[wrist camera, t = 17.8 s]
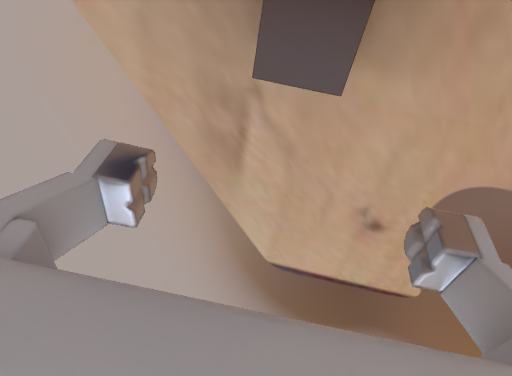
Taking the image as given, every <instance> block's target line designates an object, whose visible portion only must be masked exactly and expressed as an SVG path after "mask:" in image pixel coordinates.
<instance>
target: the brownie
mask: <svg viewBox="0 0 512 376" xmlns="http://www.w3.org/2000/svg"><path fill="white" fill-rule="evenodd" d="M374 1H375V0H264V1H263V8H262V14H261V21H260V28H259V35H258V42H257V49H256V56H255V62H254V69H253V76H252V77H253V78H255V79H260V80H265V81H270V82H274V83H279V84H284V85H289V86H293V87H298V88H303V89H308V90H312V91H317V92H322V93H327V94H332V95H336V96H341V95H342V92H343V89H344V86H345V84H346V81H347V78H348V75H349V72H350V69H351V67H352V64H353V61H354V58H355V55H356V52H357V50H358V47H359V44H360V41H361V38H362V35H363V33H364V30H365V27H366V24H367V21H368V18H369V16H370V13H371V10H372V7H373V4H374Z"/></svg>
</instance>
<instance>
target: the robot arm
mask: <svg viewBox="0 0 512 376" xmlns="http://www.w3.org/2000/svg"><path fill="white" fill-rule="evenodd" d="M155 162H156V157H155V152H154V151H153V150H151V149H146V148H142V147H138V146H133V145H129V144H124V143H119V142H115V141H111V140H106V139H103V140H100V141H99V142H98V143H97V145H96V146H95V147H94V148H93V149H92V150H91V152H90V153H89V154H88V155H87V157H86V158H85V159H84V160H83V161H82V162H81V164H80V165H79V166H78V167H77V169H76V170H75V171H74V172H73V173H70V172H67V173H64V174H61V175H59V176H57V177H54V178H52V179H49V180H47V181H44V182H42V183H39V184H37V185H34V186H32V187H29V188H27V189H24V190H22V191H19V192H17V193H15V194H12V195H10V196H7V197H5V198H2V199H0V376H512V268H511V267H509V265H508V264H504V263H501V260H500V258H499V256H498V254H497V252H496V249H495V247H494V245H493V243H492V240H491V238H490V236H489V234H488V231H487V229H486V227H485V225H484V223H483V221H482V220H481V219H480V218H479V217H475V216H470V215H465V214H458V213H453V212H448V211H443V210H438V209H433V208H428V207H426V208H425V209H423V210H422V211H421V213H420V214H419V215H418V217H419V221H420V222H418V223H415V224H413V225H411V227H410V228H409V230H408V231H407V233H406V236H405V240H404V250H405V255H406V256H407V257H408V258H409V259H410V261H411V264H410V265H409V267H408V269H409V274H410V279H411V283H412V287H417V288H421V289H425V290H430V291H433V292H438V293H441V294H440V295H441V296H442V298H443V299H444V301H445V302H446V303H447V305H448V306H449V308H450V309H451V310H452V312H453V313H454V314H455V316H456V317H457V318H458V320H459V321H460V323H461V324H462V325H463V327H464V328H465V330H466V331H467V332H468V334H469V335H470V337H471V338H472V339H473V340H474V342H475V343H476V345H477V346H478V347H479V349H480V350H481V352H482V353H483V354H484V355H482V356H480V357H479V358H475V357H470V356H465V355H461V354H456V353H451V352H447V351H442V350H437V349H432V348H428V347H423V346H419V345H413V344H409V343H404V342H400V341H395V340H390V339H385V338H380V337H376V336H371V335H366V334H361V333H356V332H351V331H347V330H342V329H338V328H333V327H328V326H324V325H319V324H313V323H309V322H304V321H300V320H295V319H290V318H286V317H281V316H276V315H271V314H267V313H262V312H257V311H252V310H248V309H243V308H239V307H234V306H229V305H224V304H220V303H215V302H210V301H206V300H201V299H196V298H191V297H187V296H182V295H177V294H172V293H168V292H163V291H158V290H154V289H149V288H144V287H139V286H135V285H130V284H125V283H120V282H116V281H111V280H106V279H102V278H97V277H92V276H87V275H82V274H78V273H73V272H68V271H64V270H59V269H57V267H56V265H55V263H54V261H55V260H56V259H58V258H59V257H61V256H62V255H64V254H65V253H67V252H68V251H70V250H71V249H72V248H74V247H76V246H77V245H79V244H80V243H81V242H83V241H84V240H86V239H87V238H89V237H90V236H92V235H93V234H95V233H96V232H98V231H99V230H101V229H102V228H104V227H105V226H107V224H108V223H110V224H116V225H121V226H126V227H132V228H136V227H137V226H138V224H139V222H140V220H141V218H142V216H143V214H144V213H145V209H144V204H146V203H148V202H150V201H151V199H152V197H153V195H154V192H155V189H156V185H157V172H156V171H155V169H154V168H153V165H154V163H155Z"/></svg>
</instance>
